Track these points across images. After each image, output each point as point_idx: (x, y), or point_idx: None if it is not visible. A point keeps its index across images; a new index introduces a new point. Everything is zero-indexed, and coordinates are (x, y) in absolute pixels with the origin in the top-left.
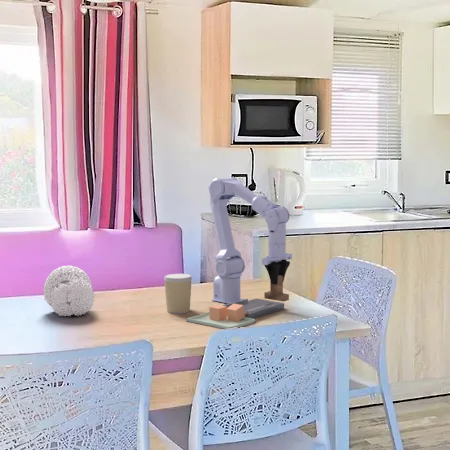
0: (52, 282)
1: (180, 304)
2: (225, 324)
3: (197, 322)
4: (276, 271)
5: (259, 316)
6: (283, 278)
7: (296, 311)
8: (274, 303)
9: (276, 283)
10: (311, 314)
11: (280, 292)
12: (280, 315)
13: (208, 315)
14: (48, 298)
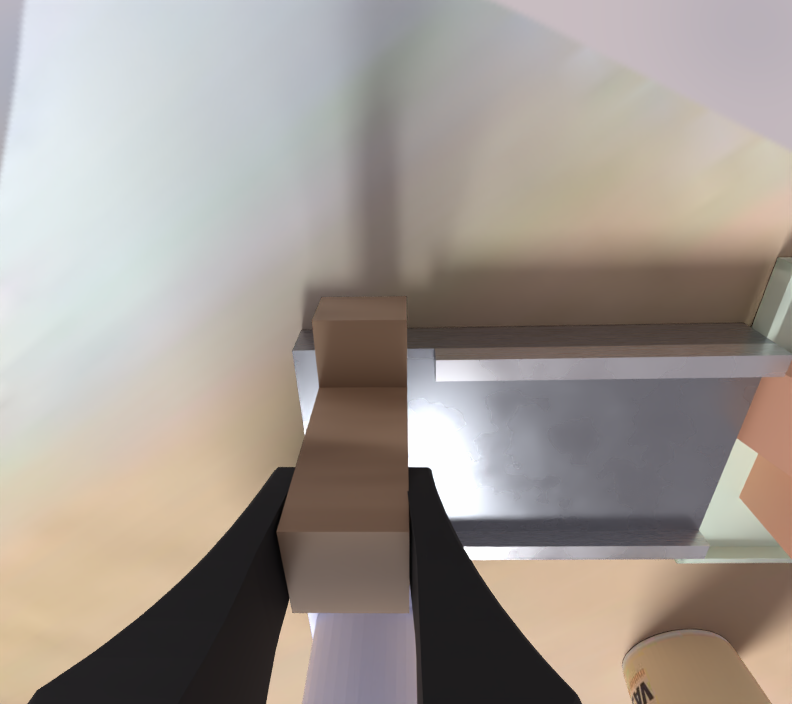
0: None
1: (754, 682)
2: None
3: None
4: (498, 610)
5: (614, 327)
6: (275, 497)
7: (294, 213)
8: None
9: (420, 472)
10: (283, 26)
11: (357, 395)
12: (486, 235)
13: (727, 539)
14: None
